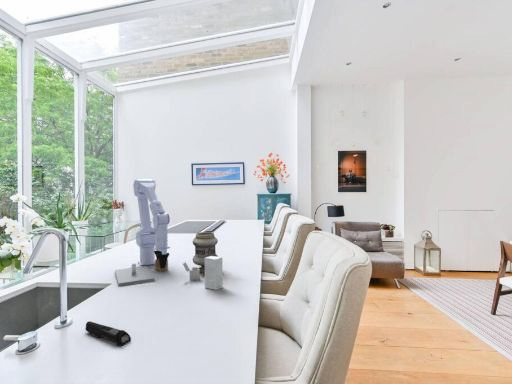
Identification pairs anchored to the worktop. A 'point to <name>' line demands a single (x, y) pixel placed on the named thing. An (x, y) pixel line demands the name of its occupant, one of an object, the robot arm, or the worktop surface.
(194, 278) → the lighter
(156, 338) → the worktop surface
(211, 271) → the skincare box
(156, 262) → the walnut bead
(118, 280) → the grey peg base
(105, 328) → the electric trimmer
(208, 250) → the apothecary jar
